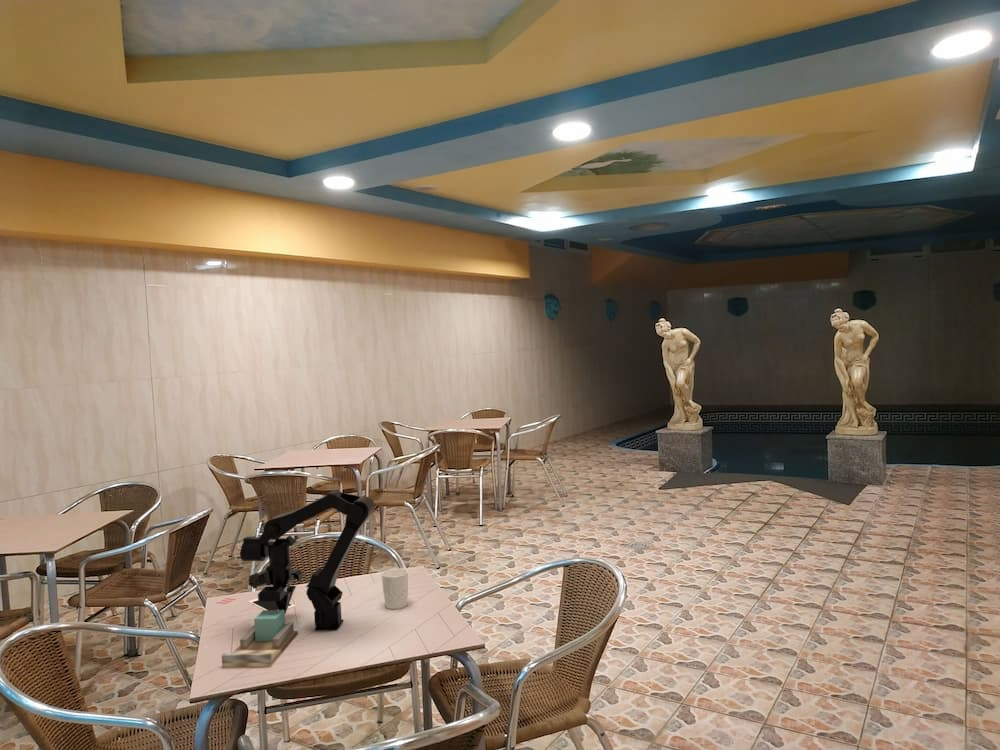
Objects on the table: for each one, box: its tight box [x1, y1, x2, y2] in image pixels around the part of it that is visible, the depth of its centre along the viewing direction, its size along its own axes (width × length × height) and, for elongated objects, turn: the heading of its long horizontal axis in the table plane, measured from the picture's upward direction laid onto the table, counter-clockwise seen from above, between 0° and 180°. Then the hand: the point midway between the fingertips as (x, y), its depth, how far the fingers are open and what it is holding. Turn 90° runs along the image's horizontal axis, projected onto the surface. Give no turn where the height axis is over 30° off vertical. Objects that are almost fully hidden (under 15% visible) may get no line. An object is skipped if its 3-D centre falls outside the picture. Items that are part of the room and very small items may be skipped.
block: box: [253, 609, 286, 641], centre depth 189 cm, size 6×6×6 cm
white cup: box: [381, 567, 409, 610], centre depth 211 cm, size 8×8×10 cm
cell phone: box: [247, 597, 296, 610], centre depth 217 cm, size 8×16×1 cm, turn 45°
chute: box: [221, 621, 299, 668], centre depth 183 cm, size 12×19×3 cm, turn 176°
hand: (283, 614), depth 198 cm, fingers closed
